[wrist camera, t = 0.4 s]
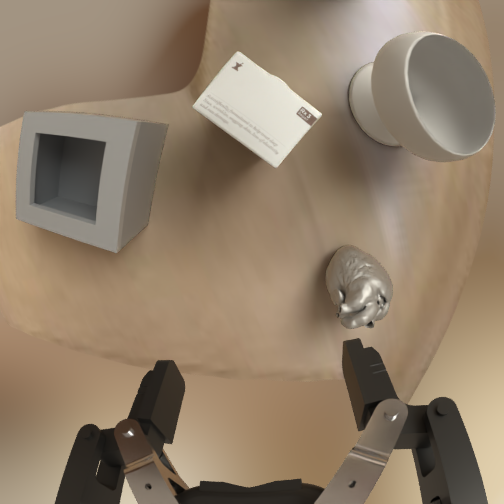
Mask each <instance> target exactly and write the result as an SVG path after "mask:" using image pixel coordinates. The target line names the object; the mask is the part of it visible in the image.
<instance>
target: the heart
mask: <svg viewBox="0 0 504 504" xmlns="http://www.w3.org/2000/svg"><path fill="white" fill-rule="evenodd" d="M325 280H326V286H327V290H328V292H329V293H330V297H331V300H332V302H333V303H334V305H338V311H337V313H336V315H337V318H341V319H342V320H341V323H342V325H343V326H344V327H346V328H348V329H354V328H358V327H361V326H365V327H366V328H373V327H374V321H377V320H382V319H383V318H384V317H385V316H386V314H387V312H388V309H389V306H390V301H391V299H392V295H393V285H392V281H391V279H390V276H389V274H388V273H387V271H386V270H385V269H384V267H383V266H382V265H381V264H380V263H379V262H378V261H377V260H376V259H375V258H374V257H373V256H371V255H370V254H368V253H366V252H364V251H362V250H360V249H359V248H357V247H355V246H352V245H345V246H343V247H341V248H339V249H338V250H337V252H336V253H335V255H334V256H333V257H332V259H331V261H330V263H329V265H328V268H327V270H326V277H325Z"/></svg>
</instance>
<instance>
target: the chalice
mask: <svg viewBox="0 0 504 504" xmlns="http://www.w3.org/2000/svg"><path fill="white" fill-rule="evenodd" d="M349 102H350V107H351V110H352V113H353V115H354V118H355V120H356V121H357V123H358V124H359V126H360V128H361V129H362V130H363V131H364V132H365V133H366V134H367V135H368V136H370V137H371V138H372V139H374V140H375V141H377V142H379V143H382V144H384V145H388V146H403V147H404V148H406V149H407V150H408V151H410V152H411V153H412V154H414V155H417V156H419V157H421V158H423V159H426V160H430V161H436V162H451V161H458V160H463V159H466V158H468V157H470V156H472V155H474V154H476V153H477V152H479V151H480V150H481V149H482V148H483V147H484V146H485V145H486V143H487V142H488V140H489V138H490V136H491V135H492V132H493V128H494V124H495V113H496V112H495V100H494V95H493V91H492V87H491V85H490V82H489V80H488V77H487V75H486V73H485V71H484V70H483V68H482V66H481V64H480V63H479V62H478V60H477V59H476V58H475V57H474V55H473V54H472V53H471V52H470V51H469V50H468V49H467V48H465V47H464V46H463V45H462V44H460V43H459V42H457V41H455V40H454V39H452V38H449V37H447V36H445V35H442V34H438V33H433V32H424V31H419V32H412V33H406V34H402V35H399V36H397V37H395V38H393V39H392V40H390V41H388V42H387V43H386V44H385V45H384V46H383V47H382V48H381V49H380V51H379V52H378V54H377V56H376V58H375V61H374V62H371V63H368V64H366V65H364V66H363V67H361V68H360V69H359V70H358V71H357V72H356V73H355V75H354V77H353V79H352V80H351V84H350V88H349Z"/></svg>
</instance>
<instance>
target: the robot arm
mask: <svg viewBox="0 0 504 504" xmlns="http://www.w3.org/2000/svg"><path fill="white" fill-rule="evenodd" d="M342 368H343V374H344V378H345V382H346V385H347V389H348V393H349V397H350V401H351V404H352V408H353V412H354V416H355V420H356V424H357V428H358V431H362V430H364V431H363V433H362V435H361V437H360V439H359V440H358V442H357V444H356V446H355V447H354V448H353V449H352V450H351V451H350V453H349V454H348V456H347V457H346V459H345V460H344V462H343V464H342V465H341V467H340V468H339V470H338V471H337V473H336V474H335V476H334V477H333V479H332V480H331V481H330V483H329V484H328V486H327V487H326V488H325V489H324V488H322V487H319V486H316V485H312V484H306V483H302V481H301V479H293V480H283V481H274V482H271V483H267V484H263V485H259V486H255V487H250V488H248V487H242V486H238V485H233V484H229V483H225V482H209V481H200V486H197V487H193V488H189V487H188V486H187V484H186V483H185V482H184V481H183V480H182V479H181V478H180V476H179V475H178V473H177V471H176V470H175V468H174V466H173V465H172V463H171V462H170V460H169V458H168V456H167V454H166V453H165V451H164V450H163V445H164V443H167V444H172V443H173V438H174V434H175V430H176V425H177V421H178V416H179V413H180V409H181V404H182V400H183V396H184V392H185V382H184V379H183V377H182V376H181V374H180V372H179V370H178V368H177V366H176V364H175V362H174V361H173V360H158V361H157V362H156V364H155V367H154V370H150V371H149V372H148V373H147V374H146V375H145V376H144V378H143V379H142V382H141V384H140V388H139V390H138V394H137V395H136V397H135V400H134V403H133V406H132V408H131V411H130V413H129V416H128V418H127V419H124V420H122V421H120V422H119V423H118V424H117V425H116V427H115V428H110V429H103V430H100V429H99V428H98V427H97V426H96V425H94V424H87V425H85V426H83V427H82V428H81V429H80V430H79V432H78V434H77V437H76V439H75V442H74V445H73V448H72V450H71V453H70V456H69V459H68V462H67V465H66V468H65V471H64V474H63V477H62V480H61V484H60V487H59V491H58V494H57V497H56V501H55V504H119V503H120V498H121V493H122V488H123V483H124V479H125V477H126V479H127V481H128V483H129V486H130V488H131V490H132V492H133V494H134V496H135V498H136V500H137V502H138V504H364V502H365V501H366V499H367V498H368V496H369V494H370V492H371V491H372V489H373V487H374V486H375V484H376V482H377V480H378V479H379V477H380V475H381V473H382V471H383V469H384V468H385V465H386V463H387V462H388V459H389V457H390V454H391V452H392V450H393V449H412V453H413V458H414V462H415V466H416V470H417V476H418V480H419V486H420V491H421V496H422V502H423V504H488V502H487V497H486V493H485V489H484V485H483V481H482V477H481V474H480V471H479V467H478V464H477V460H476V457H475V454H474V451H473V448H472V445H471V442H470V439H469V437H468V434H467V431H466V428H465V426H464V423H463V421H462V418H461V416H460V413H459V411H458V408H457V406H456V404H455V403H454V401H453V400H451V399H449V398H446V397H439V398H436V399H434V400H433V401H431V402H430V404H429V405H421V406H411V405H407V404H405V403H403V402H402V401H400V400H399V398H398V397H397V395H396V393H395V390H394V388H393V385H392V383H391V380H390V378H389V375H388V373H387V371H386V368H385V366H384V364H383V361H382V359H381V356H380V354H379V353H378V352H377V351H376V350H375V349H374V348H372V347H368V348H363V345H362V343H361V340H360V339H359V338H357V339H352V340H348V341H343V355H342ZM100 460H101V461H100ZM99 461H100V465H99V468H98V464H99ZM97 468H98V472H97ZM96 472H97V475H96Z"/></svg>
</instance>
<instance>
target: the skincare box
mask: <svg viewBox="0 0 504 504" xmlns="http://www.w3.org/2000/svg"><path fill="white" fill-rule="evenodd" d="M192 108H193V109H195V110H196V111H197V112H199V113H200V114H201V115H203V116H204V117H206V118H207V119H208V120H210V121H211V122H212V123H214V124H215V125H217V126H218V127H219V128H221V129H222V130H223V131H225V132H226V133H228V134H229V135H230V136H232V137H233V138H234V139H236V140H237V141H239V142H240V143H241V144H243V145H244V146H245V147H247V148H248V149H249V150H251V151H252V152H253V153H255V154H256V155H257V156H259V157H260V158H262V159H263V160H264V161H266V162H267V163H268V164H270V165H271V166H273V167H274V168H277V167H278V166H279V165H280V163H281V162H282V161H283V160H284V159H285V157H286V156H287V155H288V154H289V153H290V152H291V150H292V149H293V148H294V147H295V146H296V145H297V143H298V142H299V141H300V140H301V139H302V138H303V136H304V135H305V134H306V133H307V132H308V131H309V130H310V128H311V127H312V126H313V125H314V124H315V123H316V122H317V121H318V119H319V118H320V117H321V116H322V114H321V113H320V112H319V111H317V110H316V109H315V108H314V107H313V106H311V105H310V104H309V103H307V102H306V101H305V100H304V99H302V98H301V97H300V96H299V95H297V94H296V93H295V92H294V91H292V90H291V89H290V88H289V87H288V86H287V84H286V83H285V82H284V81H282V80H281V79H280V78H278V77H276V76H273V75H271V74H269V73H268V72H266V71H265V70H264V69H262V68H261V67H259V66H258V65H256V64H255V63H254V62H252V61H251V60H250V59H249V58H247V57H246V56H245V55H243V54H242V53H241V52H238V51H237V52H236V53H235V54H234V55H233V56H232V57H231V58H230V60H229V61H228V62H227V63H226V64H225V65H224V66H223V68H222V69H221V70H220V71H219V72H218V74H217V75H216V76H215V77H214V79H213V80H212V81H211V82H210V84H209V85H208V86H207V87H206V89H205V90H204V91H203V93H202V94H201V95H200V97H199V98H198V99H197V101H196V102H195V104H194V105H193V106H192Z"/></svg>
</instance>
